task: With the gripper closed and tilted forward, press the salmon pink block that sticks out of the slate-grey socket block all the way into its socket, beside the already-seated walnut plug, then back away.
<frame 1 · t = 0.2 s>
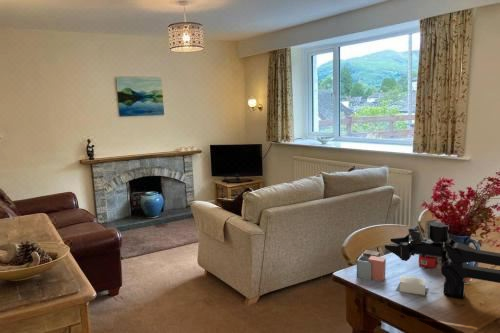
hand: (387, 243, 165), 16 cm above the table, tool horizontal, fingers open, 9 cm apart
rubber mat: (412, 291, 159), on the table
cream rectangular block: (412, 289, 158), point 1 cm above the table, touching rubber mat
socket block: (367, 274, 174), on the table
walnut plug: (371, 262, 175), point 5 cm above the table, slide at 3.8 cm
salmon pink block: (376, 268, 169), point 5 cm above the table, slide at 0.0 cm
canned food: (428, 266, 181), on the table
coffee box: (435, 255, 192), on the table
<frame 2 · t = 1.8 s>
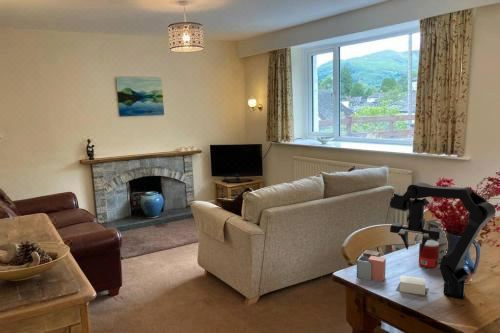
hand: (414, 250, 165), 13 cm above the table, tool pointing down, fingers open, 5 cm apart
nothing on the table moved.
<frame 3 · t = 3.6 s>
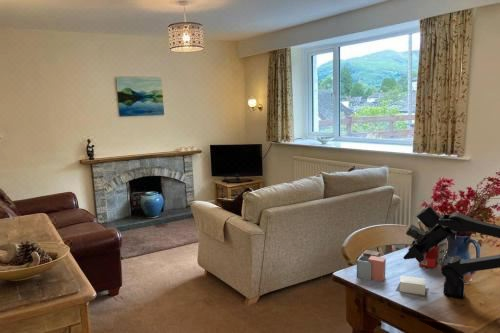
hand: (404, 258, 162), 11 cm above the table, tool tilted 45°, fingers closed
nothing on the table moved.
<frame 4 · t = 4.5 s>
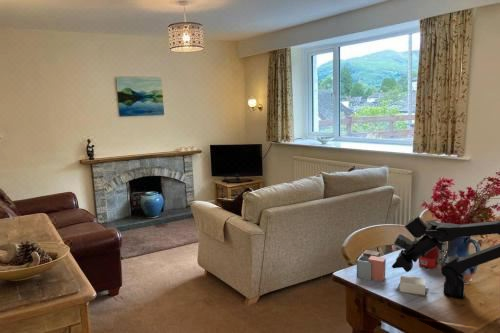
hand: (392, 267, 165), 7 cm above the table, tool tilted 45°, fingers closed
nothing on the table moved.
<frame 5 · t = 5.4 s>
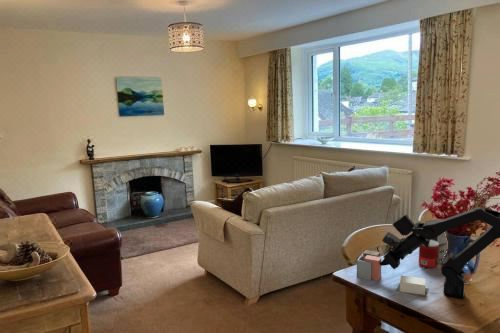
hand: (380, 264, 168), 7 cm above the table, tool tilted 45°, fingers closed, pressing on salmon pink block
salmon pink block: (372, 267, 170), point 5 cm above the table, slide at 1.7 cm, touching gripper
everything else where it was.
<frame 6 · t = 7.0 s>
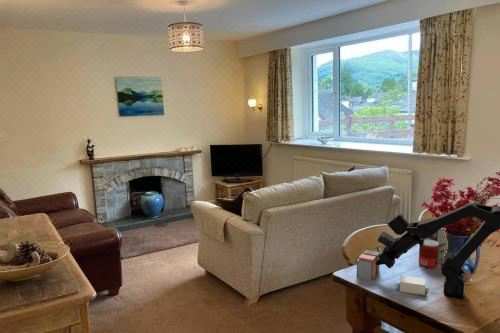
hand: (376, 264, 169), 7 cm above the table, tool tilted 45°, fingers closed
salmon pink block: (367, 266, 171), point 5 cm above the table, slide at 4.0 cm
everything else where it was.
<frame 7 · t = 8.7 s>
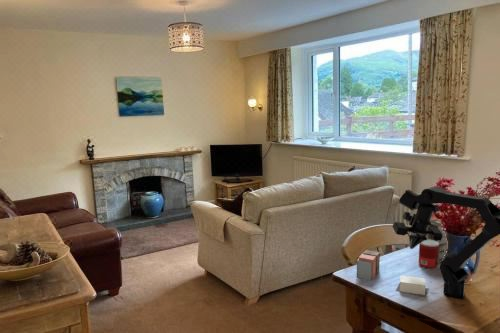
hand: (410, 248, 167), 14 cm above the table, tool tilted 20°, fingers closed
nothing on the table moved.
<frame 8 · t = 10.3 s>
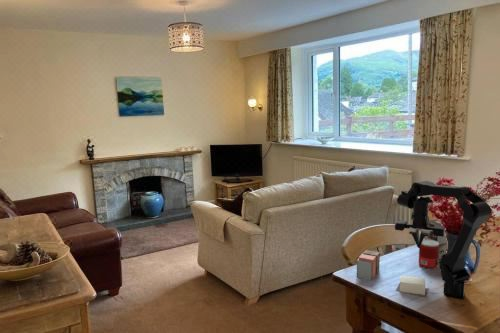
hand: (418, 247, 168), 13 cm above the table, tool pointing down, fingers closed
nothing on the table moved.
at the end: salmon pink block slide at 4.0 cm; walnut plug slide at 3.8 cm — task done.
